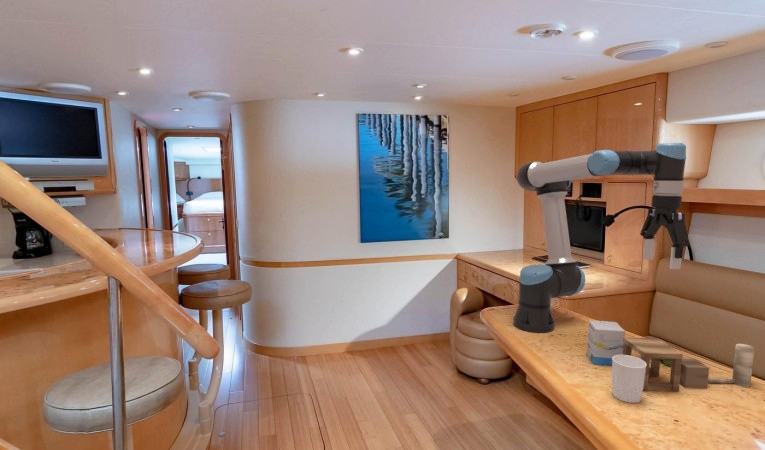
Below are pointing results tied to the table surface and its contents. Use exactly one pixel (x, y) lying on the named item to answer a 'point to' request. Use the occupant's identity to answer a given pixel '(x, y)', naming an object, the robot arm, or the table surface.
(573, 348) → the table surface
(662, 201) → the robot arm
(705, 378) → the block
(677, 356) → the wooden open stand
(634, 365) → the white cup
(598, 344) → the ink box
